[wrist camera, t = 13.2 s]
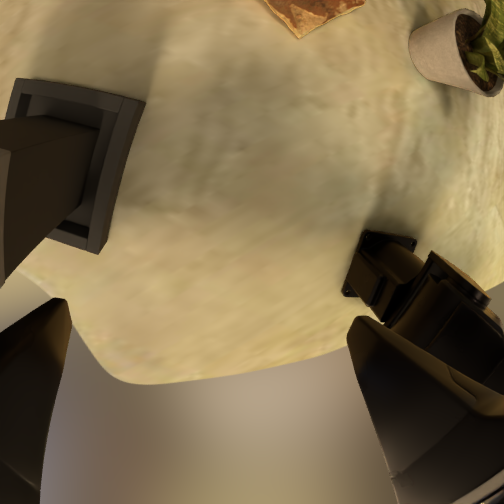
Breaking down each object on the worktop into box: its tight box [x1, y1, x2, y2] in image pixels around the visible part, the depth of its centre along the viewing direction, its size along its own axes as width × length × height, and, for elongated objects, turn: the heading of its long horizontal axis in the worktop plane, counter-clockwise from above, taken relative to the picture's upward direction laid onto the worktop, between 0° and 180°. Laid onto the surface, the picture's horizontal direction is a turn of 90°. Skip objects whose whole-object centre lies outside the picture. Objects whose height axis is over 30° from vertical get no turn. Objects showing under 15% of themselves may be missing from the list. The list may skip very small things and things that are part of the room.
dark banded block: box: [0, 115, 100, 288], centre depth 10 cm, size 5×6×13 cm
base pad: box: [5, 78, 146, 255], centre depth 15 cm, size 10×10×2 cm
